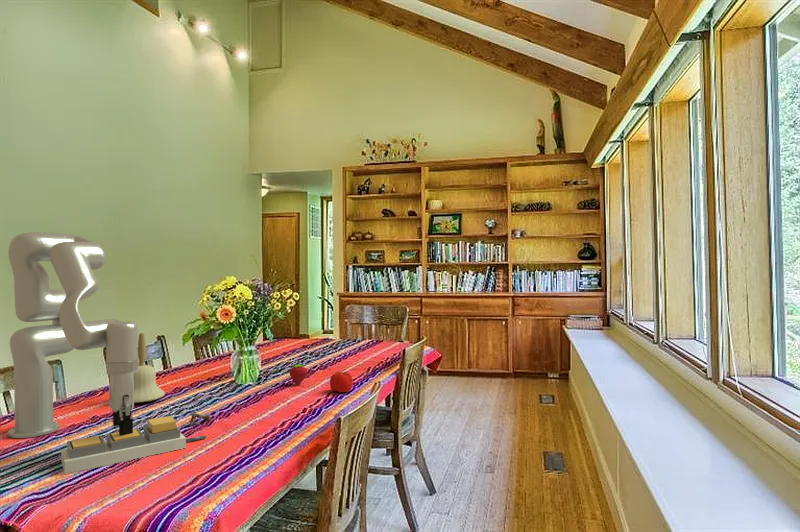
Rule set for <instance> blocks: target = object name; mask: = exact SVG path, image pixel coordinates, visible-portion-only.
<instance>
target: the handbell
mask: <svg viewBox="0 0 800 532" xmlns="http://www.w3.org/2000/svg"><path fill="white" fill-rule="evenodd" d="M146 351H147V348H146V336H145V333H143V332H140V333H139V335H138V338H137V354H138V362H139V364H138V371H137V372H135V373H133V376H134V403H144V402H151V401H155V400H159V399H161V398H162V397H164V396H165V393H166V392H165V391H164V389H161V387H159V386H158V385H157V382H156V376H157V375H156V372H157V371H156V369H155V368H154V367H153V366H151V365H149V364H146V363H145V358H146Z"/></svg>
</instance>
